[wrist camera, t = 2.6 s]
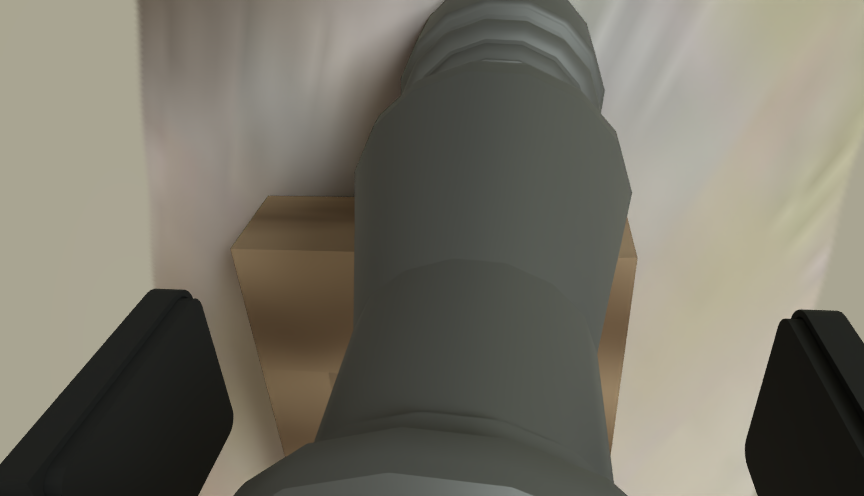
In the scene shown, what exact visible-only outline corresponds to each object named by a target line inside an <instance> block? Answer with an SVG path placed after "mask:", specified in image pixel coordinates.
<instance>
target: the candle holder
mask: <svg viewBox="0 0 864 496" xmlns="http://www.w3.org/2000/svg"><path fill="white" fill-rule="evenodd" d="M604 91H605V90H604V86H603V82H602V78H601V75H600V71H599V67H598V63H597V59H596V55H595V51H594V48H593V44H592V41H591V38H590V34H589V31H588V27H587V24H586V22H585V21H584V20H583V18H582V17H581V16H580V15H579V13H578V12H577V11H576V10H575V8H574V7H573V6H572V5H571V4H570V2H569V1H568V0H446V1H445V2H444V3H443V4H442V5H441V6H440V7H439V8H438V9H437V10H436V11H434V12H433V13H432V14H431V15H430V17H429V19H428V21H427V23H426V25H425V27H424V29H423V30H422V32H421V34H420V36H419V38H418V40H417V42H416V44H415V46H414V49H413V51H412V54H411V56H410V58H409V61H408V63H407V66H406V68H405V70H404V73H403V75H402V77H401V96H400V97H399V98H398V99H397V100H396V101H395V102H393V103H392V104H391V105H390V106H389V107H388V108H387V109H386V110H385V111H384V112H383V113H382V114H380V115H379V117H378V119H377V121H376V122H375V124H374V126H373V129H372V131H371V134H370V136H369V138H368V141H367V143H366V146H365V148H364V150H363V153H362V155H361V158H360V160H359V163H358V165H357V167H356V170H355V187H354V190H355V235H354V317H353V332H352V335H351V338H350V341H349V344H348V347H347V349H346V352H345V355H344V358H343V361H342V364H341V366H340V369H339V372H338V375H337V378H336V381H335V383H334V386H333V389H332V392H331V395H330V398H329V401H328V403H327V406H326V409H325V412H324V415H323V418H322V420H321V423H320V426H319V429H318V432H317V435H316V437H315V440H314V442H313V443H308V444H305V445H304V446H302V447H301V448H299V449H298V450H296V451H294V452H293V453H291V454H290V455H288V456H286V457H285V458H283V459H282V460H280V461H279V462H277V463H275V464H274V465H272V466H271V467H269V468H267V469H266V470H264V471H263V472H261V473H260V474H258V475H256V476H255V477H253V478H252V479H250V480H249V481H247V482H245V483H244V484H243V485H242V486H241V487H240V488H239V490H238V491H237V492H236V493H235V495H234V496H627V495H626V494H625V493H624V492H623V491H622V490H621V489H619V488H618V487H617V486H616V485H615V484H614V481H613V473H612V465H611V457H610V450H609V442H608V434H607V426H606V418H605V410H604V403H603V395H602V387H601V379H600V371H599V364H598V356H597V353H598V348H599V343H600V339H601V334H602V329H603V324H604V320H605V315H606V310H607V305H608V301H609V296H610V291H611V287H612V282H613V278H614V273H615V269H616V265H617V260H618V256H619V251H620V247H621V242H622V238H623V233H624V228H625V223H626V219H627V214H628V209H629V204H630V200H631V195H632V191H631V187H630V183H629V179H628V175H627V172H626V168H625V164H624V160H623V156H622V152H621V148H620V144H619V141H618V137H617V134H616V131H615V130H614V129H613V127H612V126H611V125H610V124H609V123H608V122H607V120H606V119H605V118H604V117H603V116H602V114H601V109H602V103H603V97H604Z"/></svg>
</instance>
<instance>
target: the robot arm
mask: <svg viewBox="0 0 864 496" xmlns="http://www.w3.org/2000/svg"><path fill="white" fill-rule="evenodd" d="M232 425H233V410H232V406H231V403H230V400H229V396H228V393H227V389H226V386H225V382H224V379H223V376H222V372H221V369H220V365H219V362H218V359H217V355H216V352H215V348H214V345H213V342H212V338H211V335H210V331H209V328H208V324H207V321H206V318H205V314H204V311H203V307H202V305H201V302H200V301H199V300H198V299H193V297H192V295H191V294H190V293H189V292H188V291H186V290H175V289H153V290H150V291H149V292H148V293H147V294H146V295H145V296H144V297H143V298H142V300H141V301H140V302H139V303H138V304H137V305H136V307H135V308H134V309H133V310H132V311H131V313H130V314H129V315H128V316H127V317H126V318H125V320H124V321H123V322H122V323H121V324H120V325H119V326H118V328H117V329H116V330H115V331H114V332H113V333H112V335H111V336H110V337H109V338H108V339H107V340H106V342H105V343H104V344H103V345H102V346H101V348H100V349H99V350H98V351H97V352H96V353H95V355H94V356H93V357H92V358H91V359H90V360H89V362H88V363H87V364H86V365H85V366H84V367H83V369H82V370H81V371H80V372H79V373H78V374H77V375H76V377H75V378H74V379H73V380H72V381H71V382H70V384H69V385H68V386H67V387H66V388H65V389H64V391H63V392H62V393H61V394H60V395H59V396H58V398H57V399H56V400H55V401H54V402H53V403H52V405H51V406H50V407H49V408H48V409H47V410H46V412H45V413H44V414H43V415H42V416H41V417H40V419H39V420H38V421H37V422H36V423H35V424H34V425H33V427H32V428H31V429H30V430H29V431H28V433H27V434H26V435H25V436H24V437H23V438H22V440H21V441H20V442H19V443H18V444H17V445H16V446H15V448H14V449H13V450H12V451H11V452H10V454H9V455H8V456H7V457H6V458H5V459H4V460H3V462H2V463H1V464H0V496H198V495H199V493H200V491H201V489H202V487H203V485H204V483H205V481H206V479H207V477H208V475H209V473H210V471H211V469H212V467H213V465H214V464H215V462H216V460H217V458H218V456H219V454H220V452H221V450H222V448H223V446H224V444H225V442H226V440H227V438H228V436H229V434H230V432H231V429H232ZM745 457H746V463H747V466H748V469H749V472H750V475H751V478H752V481H753V484H754V486H755V489H756V492H757V495H758V496H864V343H863V342H862V340H861V339H860V337H859V336H858V334H857V333H856V331H855V330H854V328H853V327H852V325H851V324H850V322H849V321H848V320H847V318H846V316H845V315H844V314H843V313H842V312H839V311H826V310H797V311H795V312H794V314H793V315H792V318H791V319H782V320H781V322H780V323H779V326H778V329H777V332H776V336H775V339H774V343H773V347H772V350H771V354H770V357H769V361H768V364H767V368H766V371H765V375H764V378H763V382H762V385H761V389H760V392H759V396H758V400H757V403H756V407H755V410H754V414H753V417H752V421H751V424H750V428H749V431H748V435H747V438H746V443H745Z"/></svg>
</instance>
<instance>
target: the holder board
mask: <svg viewBox="0 0 864 496" xmlns="http://www.w3.org/2000/svg"><path fill="white" fill-rule="evenodd" d="M354 235H355V197H325V196H268V197H267V198H266V200H265V201H264V203H263V204H262V205H261V207H260V208H259V210H258V211H257V212H256V214H255V215H254V217H253V218H252V219H251V221H250V222H249V224H248V225H247V226H246V228H245V229H244V231H243V232H242V233H241V235H240V236H239V238H238V239H237V240H236V242H235V243H234V245H233V246H232V247H231V253H232V257H233V261H234V264H235V268H236V272H237V276H238V280H239V283H240V287H241V291H242V295H243V299H244V302H245V306H246V310H247V314H248V318H249V321H250V325H251V329H252V333H253V336H254V340H255V344H256V348H257V352H258V355H259V359H260V363H261V367H262V371H263V374H264V378H265V382H266V386H267V390H268V393H269V397H270V401H271V405H272V409H273V412H274V416H275V420H276V424H277V428H278V431H279V435H280V439H281V443H282V447H283V450H284V454H285V457H286V456H288V455H290V454H291V453H293V452H294V451H296V450H298V449H299V448H301V447H302V446H304V445H305V444H308V443H313V442H314V440H315V437H316V435H317V432H318V429H319V426H320V423H321V420H322V418H323V415H324V412H325V409H326V406H327V403H328V401H329V398H330V395H331V392H332V389H333V386H334V383H335V381H336V378H337V375H338V372H339V369H340V366H341V364H342V361H343V358H344V355H345V352H346V349H347V347H348V344H349V341H350V338H351V335H352V332H353V317H354ZM636 265H637V254H636V250H635V246H634V243H633V239H632V235H631V231H630V227H629V223H628V219H626V223H625V228H624V233H623V238H622V242H621V247H620V251H619V256H618V260H617V265H616V269H615V273H614V278H613V282H612V287H611V291H610V296H609V301H608V305H607V310H606V315H605V320H604V324H603V329H602V334H601V339H600V343H599V348H598V353H597V356H598V364H599V371H600V379H601V387H602V395H603V403H604V410H605V418H606V426H607V434H608V442H609V450H610V455H611V447H612V440H613V433H614V426H615V418H616V411H617V404H618V396H619V389H620V382H621V374H622V367H623V360H624V352H625V345H626V338H627V331H628V323H629V316H630V309H631V301H632V294H633V287H634V279H635V272H636Z"/></svg>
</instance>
